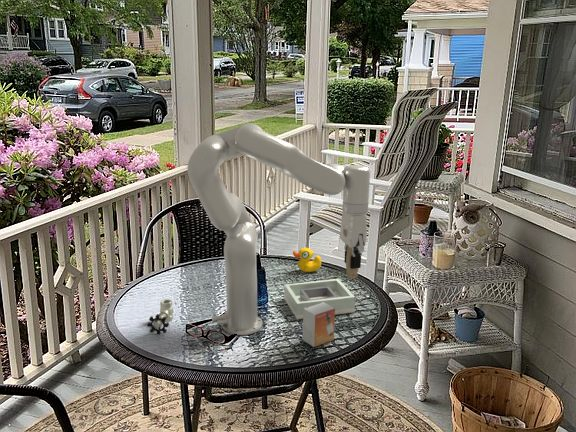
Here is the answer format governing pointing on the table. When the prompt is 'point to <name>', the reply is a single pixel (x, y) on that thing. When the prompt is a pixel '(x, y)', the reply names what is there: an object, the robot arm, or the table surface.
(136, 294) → the table surface
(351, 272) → the handle
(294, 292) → the housing
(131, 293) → the table surface
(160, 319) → the valve
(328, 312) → the small box
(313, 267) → the duckling
